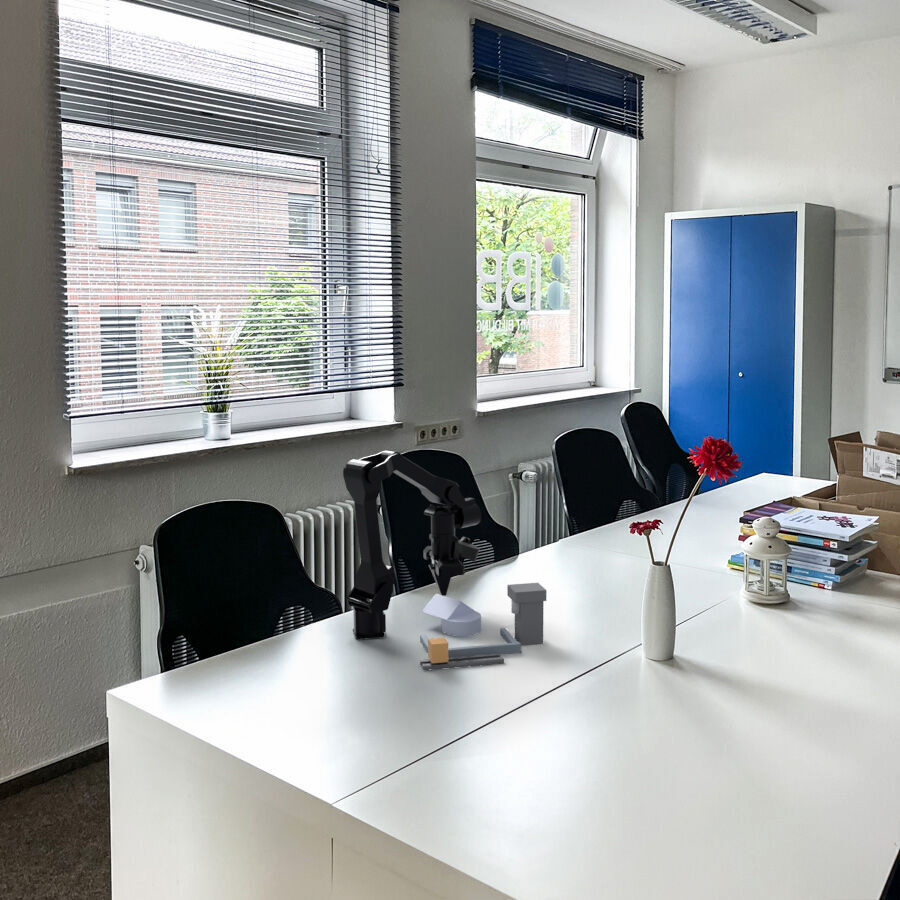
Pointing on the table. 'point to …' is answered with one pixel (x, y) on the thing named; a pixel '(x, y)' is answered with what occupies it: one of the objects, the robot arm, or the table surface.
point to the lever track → (464, 661)
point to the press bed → (526, 623)
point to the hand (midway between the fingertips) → (443, 595)
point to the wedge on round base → (454, 616)
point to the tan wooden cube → (438, 650)
